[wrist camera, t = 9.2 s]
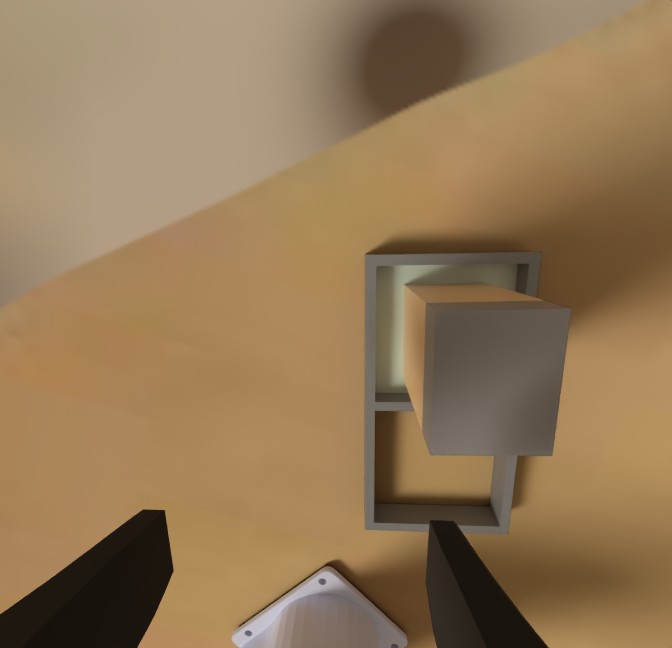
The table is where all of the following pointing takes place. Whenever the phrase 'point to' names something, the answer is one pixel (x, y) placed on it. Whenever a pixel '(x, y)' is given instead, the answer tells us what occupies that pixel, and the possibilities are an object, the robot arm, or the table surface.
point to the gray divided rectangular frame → (389, 386)
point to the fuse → (484, 368)
